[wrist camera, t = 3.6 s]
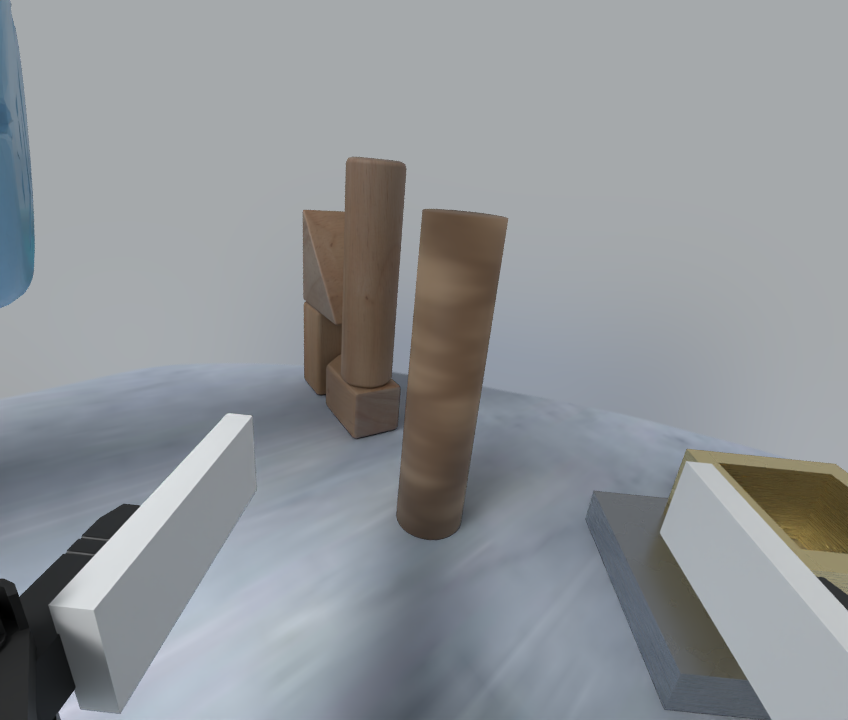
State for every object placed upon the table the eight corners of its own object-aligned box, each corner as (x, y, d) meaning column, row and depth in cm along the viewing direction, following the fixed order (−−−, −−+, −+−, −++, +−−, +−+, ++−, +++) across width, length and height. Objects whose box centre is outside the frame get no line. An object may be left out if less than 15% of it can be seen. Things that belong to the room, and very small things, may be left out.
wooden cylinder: (393, 536, 23) (420, 212, 17) (399, 491, 27) (424, 207, 21) (462, 543, 23) (513, 222, 17) (460, 497, 27) (502, 214, 21)
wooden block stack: (341, 373, 41) (347, 158, 34) (399, 431, 33) (421, 163, 26) (302, 379, 39) (299, 153, 33) (352, 442, 31) (363, 156, 24)
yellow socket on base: (664, 709, 17) (719, 590, 14) (585, 519, 26) (611, 428, 24) (1044, 748, 17) (1158, 635, 14) (829, 543, 26) (878, 455, 24)
